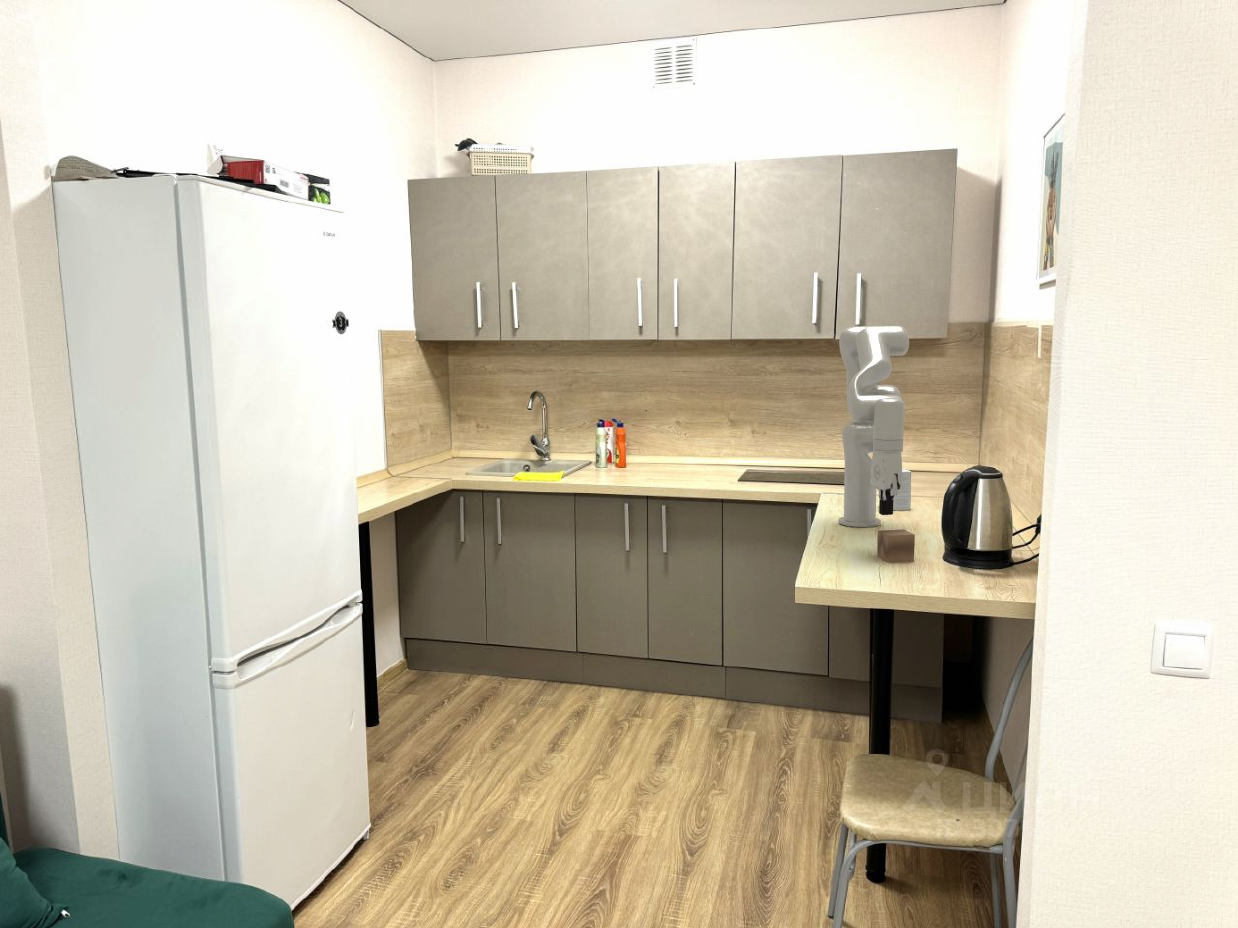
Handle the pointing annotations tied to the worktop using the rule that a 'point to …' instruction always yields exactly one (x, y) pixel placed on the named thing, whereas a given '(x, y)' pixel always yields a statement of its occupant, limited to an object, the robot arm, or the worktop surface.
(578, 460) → the worktop surface
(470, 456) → the worktop surface
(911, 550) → the walnut block
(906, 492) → the small box
